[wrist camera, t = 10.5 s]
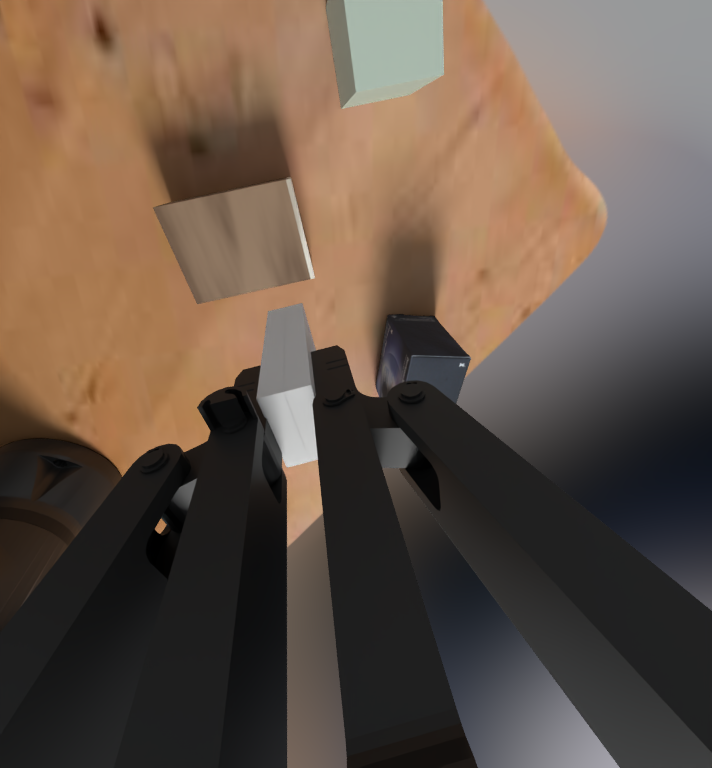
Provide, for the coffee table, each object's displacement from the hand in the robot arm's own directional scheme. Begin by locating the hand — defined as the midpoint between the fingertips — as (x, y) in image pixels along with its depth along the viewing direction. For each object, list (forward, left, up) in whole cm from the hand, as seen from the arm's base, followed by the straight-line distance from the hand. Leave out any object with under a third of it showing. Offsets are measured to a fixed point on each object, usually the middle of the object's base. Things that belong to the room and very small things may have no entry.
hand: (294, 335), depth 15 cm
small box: (+10, -16, -23) cm, 29 cm away
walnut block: (+1, +1, -20) cm, 20 cm away
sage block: (+10, +12, -23) cm, 28 cm away
